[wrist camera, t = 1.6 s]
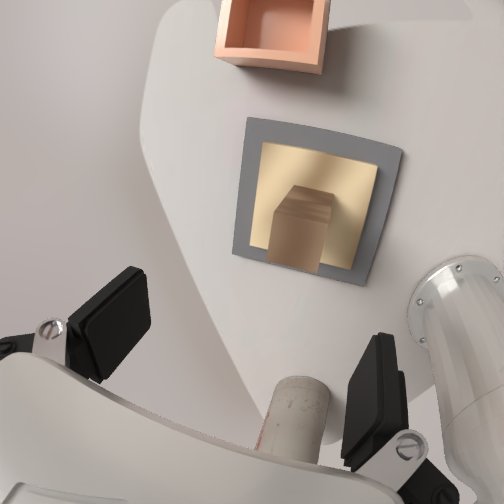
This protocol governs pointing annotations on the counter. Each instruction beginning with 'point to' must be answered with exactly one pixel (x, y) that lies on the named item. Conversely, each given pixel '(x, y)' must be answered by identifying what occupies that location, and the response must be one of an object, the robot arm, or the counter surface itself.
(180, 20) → the counter surface
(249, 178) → the mat
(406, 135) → the counter surface
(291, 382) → the thermos bottle
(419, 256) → the counter surface
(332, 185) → the lid
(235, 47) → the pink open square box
